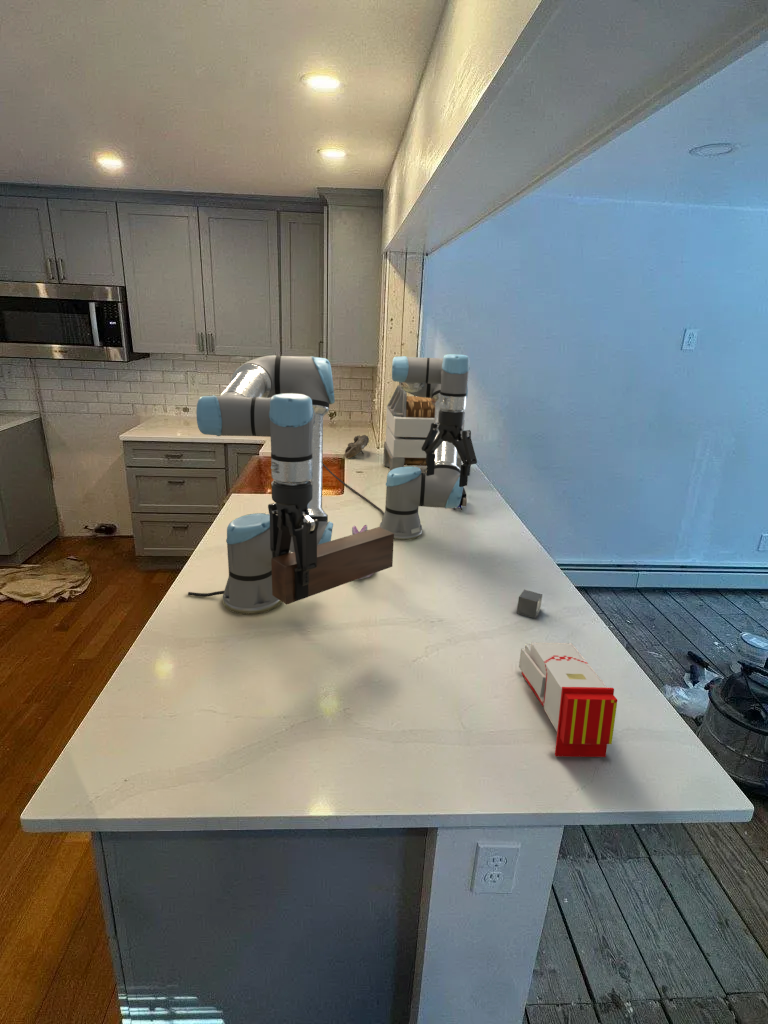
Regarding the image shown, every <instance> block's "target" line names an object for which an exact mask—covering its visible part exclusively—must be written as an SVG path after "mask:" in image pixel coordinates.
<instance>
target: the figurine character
mask: <svg viewBox="0 0 768 1024" xmlns="http://www.w3.org/2000/svg"><path fill="white" fill-rule="evenodd" d="M467 503H468V498H467V492H466V489H465V486H464V487H463V492H462V496H461V501H460V504H459V506H458V507H457V508H452V509H453V511H456V509H460V511H463V507H464V508H465V507H467Z"/></svg>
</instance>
